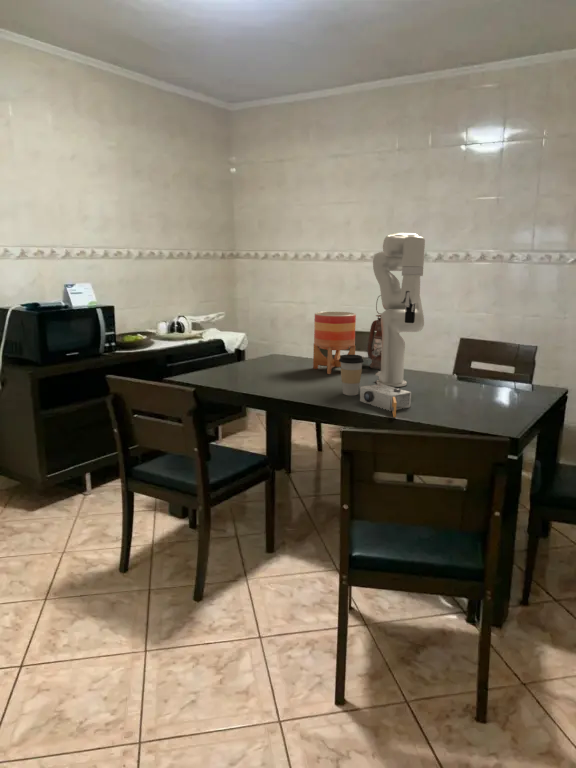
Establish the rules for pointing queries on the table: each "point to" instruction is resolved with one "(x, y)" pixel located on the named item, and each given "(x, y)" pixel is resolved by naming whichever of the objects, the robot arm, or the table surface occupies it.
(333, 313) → the planter
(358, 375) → the coffee cup
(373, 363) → the lantern
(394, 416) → the side door
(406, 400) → the camera case
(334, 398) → the table surface
